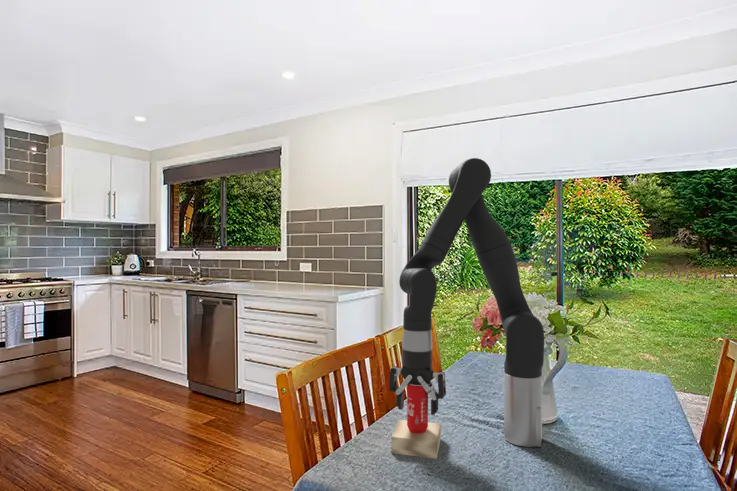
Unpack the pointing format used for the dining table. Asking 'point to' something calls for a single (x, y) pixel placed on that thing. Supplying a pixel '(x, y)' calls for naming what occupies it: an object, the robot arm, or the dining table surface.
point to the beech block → (416, 440)
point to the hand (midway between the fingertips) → (416, 411)
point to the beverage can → (417, 408)
